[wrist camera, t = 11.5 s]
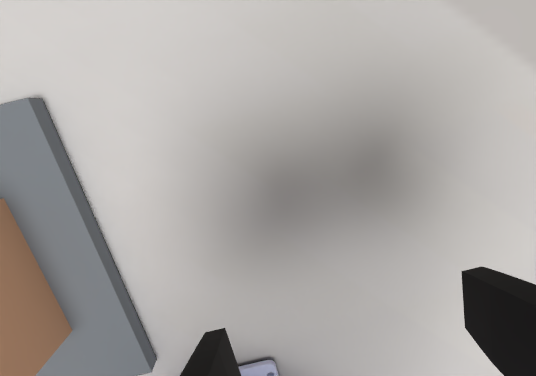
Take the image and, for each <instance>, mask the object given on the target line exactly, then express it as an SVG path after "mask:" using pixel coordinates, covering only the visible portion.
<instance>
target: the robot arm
mask: <svg viewBox="0 0 536 376" xmlns="http://www.w3.org/2000/svg"><path fill="white" fill-rule="evenodd" d="M462 285H463V302H464V318H465V328H466V329H467V331H468V332H469V333H470V335H471V336H472V337H473V339H474V340H475V341H476V343H477V344H478V345H479V347H480V348H481V349H482V351H483V352H484V353H485V354H486V356H487V357H488V358H489V359H490V361H491V362H492V363H493V364H494V365H495V366H496V367H497V368H498V370H499V371H500V372H501V373H502V374H503V375H504V376H536V285H535V284H532V283H529V282H527V281H524V280H521V279H518V278H515V277H512V276H510V275H507V274H504V273H501V272H498V271H495V270H492V269H489V268H485V267H478V268H474V269H470V270H466V271H462ZM269 372H272V373H269ZM180 376H279V374H278V371H277V368H276V364H275V362H274V361H272V360H265V361H261V362H256V363H252V364H248V365H244V366H239V367H238V365H237V362H236V359H235V356H234V353H233V350H232V347H231V344H230V341H229V338H228V336H227V333H226V330H225V328H223V329H218V330H214V331H210V332H206V333H205V334H204V335H203V337H202V339H201V340H200V342H199V344H198V345H197V347H196V349H195V351H194V352H193V354H192V356H191V358H190V359H189V361H188V363H187V365H186V366H185V368H184V370H183V371H182V373H181V375H180Z"/></svg>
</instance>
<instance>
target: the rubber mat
mask: <svg viewBox="0 0 536 376" xmlns="http://www.w3.org/2000/svg"><path fill="white" fill-rule="evenodd" d="M2 198H4V200H5V202H6V204H7V205H8V207H9V209H10V211H11V213H12V215H13V217H14V219H15V221H16V223H17V225H18V227H19V229H20V230H21V232H22V234H23V236H24V238H25V240H26V242H27V244H28V246H29V248H30V250H31V252H32V254H33V255H34V257H35V259H36V261H37V263H38V265H39V267H40V269H41V271H42V273H43V275H44V277H45V279H46V281H47V282H48V284H49V286H50V288H51V290H52V292H53V294H54V296H55V298H56V300H57V302H58V304H59V306H60V307H61V309H62V311H63V313H64V315H65V317H66V319H67V321H68V323H69V325H70V327H71V329H72V332H71V333H70V334H69V336H68V337H67V338H66V339H65V340H64V342H63V343H62V344H61V345H60V346H59V348H58V349H57V350H56V351H55V352H54V354H53V355H52V356H51V357H50V358H49V360H48V361H47V362H46V363H45V365H44V366H43V367H42V368H41V369H40V371H39V372H38V373H37V374H36V375H35V376H137V375H142V374H146V373H150V372H152V370H153V367H154V365H155V362H156V360H157V359H156V357H155V355H154V352H153V350H152V348H151V345H150V343H149V341H148V339H147V336H146V334H145V332H144V330H143V327H142V325H141V323H140V320H139V318H138V316H137V314H136V311H135V309H134V307H133V304H132V302H131V300H130V298H129V295H128V293H127V291H126V289H125V286H124V284H123V282H122V279H121V277H120V275H119V273H118V270H117V268H116V266H115V263H114V261H113V259H112V257H111V254H110V252H109V250H108V248H107V245H106V243H105V241H104V238H103V236H102V234H101V232H100V229H99V227H98V225H97V222H96V220H95V218H94V216H93V213H92V211H91V209H90V207H89V204H88V202H87V200H86V197H85V195H84V193H83V191H82V188H81V186H80V184H79V181H78V179H77V177H76V175H75V172H74V170H73V168H72V166H71V163H70V161H69V159H68V156H67V154H66V152H65V150H64V147H63V145H62V143H61V140H60V138H59V136H58V134H57V131H56V129H55V127H54V125H53V122H52V120H51V118H50V115H49V113H48V111H47V109H46V106H45V104H44V102H43V99H39V98H25V99H21V100H17V101H13V102H9V103H5V104H1V105H0V199H2Z"/></svg>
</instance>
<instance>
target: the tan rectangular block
mask: <svg viewBox="0 0 536 376" xmlns="http://www.w3.org/2000/svg"><path fill="white" fill-rule="evenodd" d="M71 332H72V329H71V327H70V325H69V323H68V321H67V319H66V317H65V315H64V313H63V311H62V309H61V307H60V306H59V304H58V302H57V300H56V298H55V296H54V294H53V292H52V290H51V288H50V286H49V284H48V282H47V281H46V279H45V277H44V275H43V273H42V271H41V269H40V267H39V265H38V263H37V261H36V259H35V257H34V255H33V254H32V252H31V250H30V248H29V246H28V244H27V242H26V240H25V238H24V236H23V234H22V232H21V230H20V229H19V227H18V225H17V223H16V221H15V219H14V217H13V215H12V213H11V211H10V209H9V207H8V205H7V204H6V202H5V200H4V198H2V199H0V376H35V375H36V374H37V373H38V372H39V371H40V369H41V368H42V367H43V366H44V365H45V363H46V362H47V361H48V360H49V358H50V357H51V356H52V355H53V354H54V352H55V351H56V350H57V349H58V348H59V346H60V345H61V344H62V343H63V342H64V340H65V339H66V338H67V337H68V336H69V334H70V333H71Z"/></svg>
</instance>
